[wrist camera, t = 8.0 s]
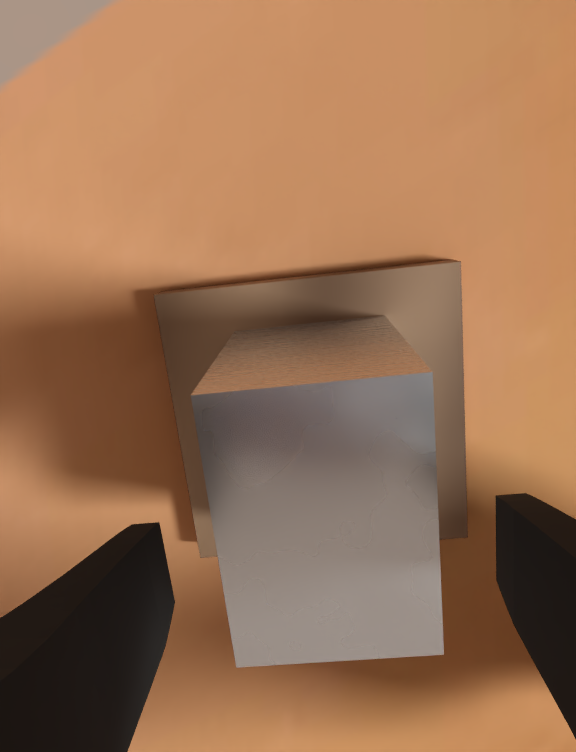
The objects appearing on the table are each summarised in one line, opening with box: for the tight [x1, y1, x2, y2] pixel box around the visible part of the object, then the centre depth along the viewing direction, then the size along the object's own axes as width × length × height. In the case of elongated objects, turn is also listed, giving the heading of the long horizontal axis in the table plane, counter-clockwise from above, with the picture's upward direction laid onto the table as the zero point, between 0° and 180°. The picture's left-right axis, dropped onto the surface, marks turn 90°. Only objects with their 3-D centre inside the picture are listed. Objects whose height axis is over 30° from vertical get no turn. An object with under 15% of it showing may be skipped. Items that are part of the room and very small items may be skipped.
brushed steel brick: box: [191, 316, 444, 668], centre depth 15 cm, size 5×7×7 cm
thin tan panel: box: [154, 260, 468, 558], centre depth 18 cm, size 10×10×4 cm
